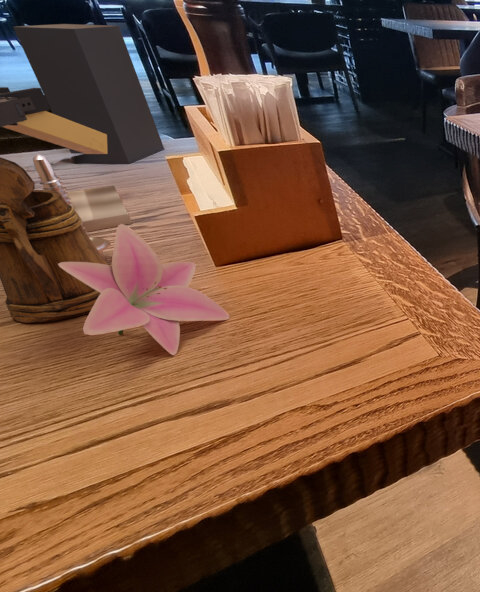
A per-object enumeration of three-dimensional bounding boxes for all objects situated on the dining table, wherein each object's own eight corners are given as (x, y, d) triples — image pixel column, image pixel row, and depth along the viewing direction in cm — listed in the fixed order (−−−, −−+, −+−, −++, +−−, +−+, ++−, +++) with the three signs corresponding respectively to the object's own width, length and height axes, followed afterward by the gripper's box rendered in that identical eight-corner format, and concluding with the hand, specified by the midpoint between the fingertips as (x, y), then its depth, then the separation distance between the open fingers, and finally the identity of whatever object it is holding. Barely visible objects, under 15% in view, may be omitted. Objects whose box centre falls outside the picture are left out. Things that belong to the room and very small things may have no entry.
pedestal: (129, 164, 97) (74, 28, 86) (75, 163, 96) (12, 26, 85) (164, 149, 106) (118, 25, 95) (115, 149, 105) (63, 23, 94)
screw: (100, 251, 65) (126, 258, 64) (53, 266, 61) (79, 275, 60) (50, 146, 59) (77, 152, 57) (-6, 156, 55) (22, 162, 53)
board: (48, 204, 78) (44, 195, 77) (117, 194, 83) (113, 185, 82) (54, 237, 68) (49, 227, 67) (132, 223, 73) (128, 213, 72)
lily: (84, 401, 43) (106, 313, 40) (14, 314, 46) (30, 224, 43) (233, 364, 54) (260, 292, 51) (169, 295, 57) (191, 223, 54)
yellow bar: (-26, 108, 60) (-27, 83, 60) (-56, 108, 60) (-57, 82, 60) (107, 154, 79) (107, 134, 79) (85, 154, 79) (85, 134, 79)
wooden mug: (-12, 358, 46) (-147, 155, 37) (21, 293, 56) (-80, 120, 47) (118, 329, 51) (25, 142, 42) (128, 274, 60) (54, 113, 51)
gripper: (-259, 179, 49) (-29, 127, 69) (-61, 179, 51) (106, 128, 71) (-326, 94, 45) (-62, 65, 65) (-109, 97, 47) (82, 69, 67)
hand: (25, 98), depth 68 cm, fingers closed on yellow bar, 3 cm apart
